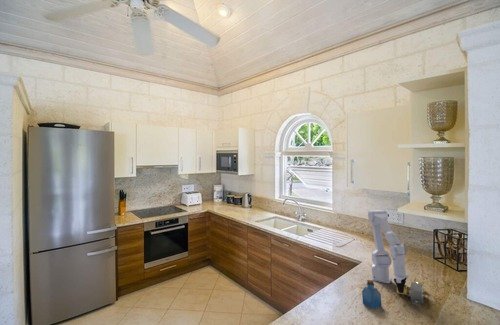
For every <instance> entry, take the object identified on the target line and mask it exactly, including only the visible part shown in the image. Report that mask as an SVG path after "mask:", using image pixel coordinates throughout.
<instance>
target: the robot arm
mask: <svg viewBox="0 0 500 325" xmlns="http://www.w3.org/2000/svg"><path fill="white" fill-rule="evenodd" d="M367 216H368V221H369V224H371V230H372V234H373V240H374V247H375V250H373V251H372V253H371V262H372V265H371V275H372V278H371V280H372V281H374V282H375V281H376V282H380V283H383V284H390V283H391V281H392V277H390V269H389V267H390V266H391V265H393V276H394V278H393V282H394V283H395V285H396V290H397V289H398V292H399V293H403V292H404V285H406V283H407V280H408V278H409V277H410V276H409V275H407V270H406V269H407V268H406V258H405V256H406V255H407V248H406V245H404V244H403V243H402V242H401V241H400V239H399V238H398V236H397V234H396V233H395V232H394V231H392V230H393V229H392V228H391V225H390V224H389V222H388V219H389V216H388V213H387V211H386V209H378V210H376V209H375V210H374V209H373V210H371V209H370V210H369V211H368V213H367ZM382 229H383V231H384V233H385V236H384V238H385V239H386V241H387V243H388V245H389V251H390V253H389V252H388V251H387V250H386V249H385V245H384V244H385V243H384V240H383V234H382ZM390 254H391V256H390ZM399 293H398V294H399Z"/></svg>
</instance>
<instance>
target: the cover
mask: <svg viewBox="0 0 500 325" xmlns="http://www.w3.org/2000/svg"><path fill="white" fill-rule="evenodd" d="M414 282H415V283H420V284H422V285H423V286H424V282H422V281H419V280H415V281H414ZM424 293H426V288H424V287H423V294H424Z"/></svg>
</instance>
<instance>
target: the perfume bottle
mask: <svg viewBox="0 0 500 325" xmlns="http://www.w3.org/2000/svg"><path fill="white" fill-rule="evenodd" d="M361 296H362V298H361V299H362V304H363V305H365V306H366V307H368V308H370V309H371V310H374V309H378V308H381V307H382V294H381V292H380V291H379V290H378V288H377V287H375V281H374V280H372V279H371V280H370V279H367V280H366V286H364V288H363V289H362V290H361Z"/></svg>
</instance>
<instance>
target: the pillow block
mask: <svg viewBox="0 0 500 325" xmlns="http://www.w3.org/2000/svg"><path fill="white" fill-rule="evenodd" d="M409 287H410V295H409V296H410V302H411V304H412V306H416V307H422V305H424V293H423V288H424V284H423V285H422V284H420V283H415V281H411V283H410V286H409Z"/></svg>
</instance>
